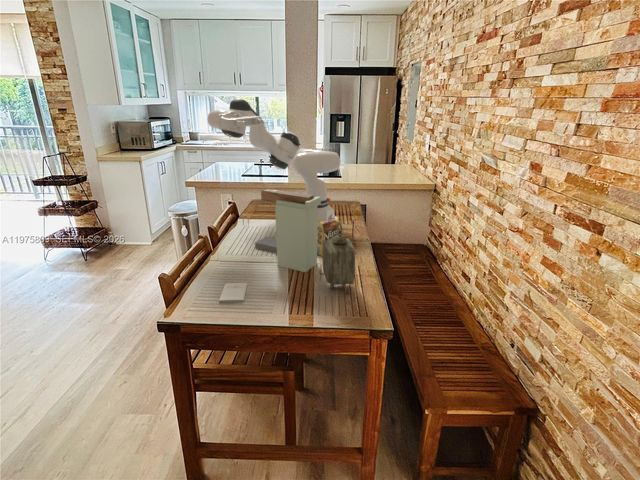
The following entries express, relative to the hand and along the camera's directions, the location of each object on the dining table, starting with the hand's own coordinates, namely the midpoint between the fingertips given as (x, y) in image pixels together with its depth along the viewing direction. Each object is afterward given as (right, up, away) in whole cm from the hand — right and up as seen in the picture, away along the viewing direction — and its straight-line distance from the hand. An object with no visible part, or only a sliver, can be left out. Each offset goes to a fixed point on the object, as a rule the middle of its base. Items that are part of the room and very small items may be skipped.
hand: (253, 122), depth 163 cm
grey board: (+14, -56, +6) cm, 58 cm away
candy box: (+33, -58, +4) cm, 66 cm away
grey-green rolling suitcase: (+36, -69, -27) cm, 82 cm away
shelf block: (+20, -62, -8) cm, 65 cm away
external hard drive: (-1, -71, -31) cm, 78 cm away
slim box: (+16, -37, -16) cm, 43 cm away
